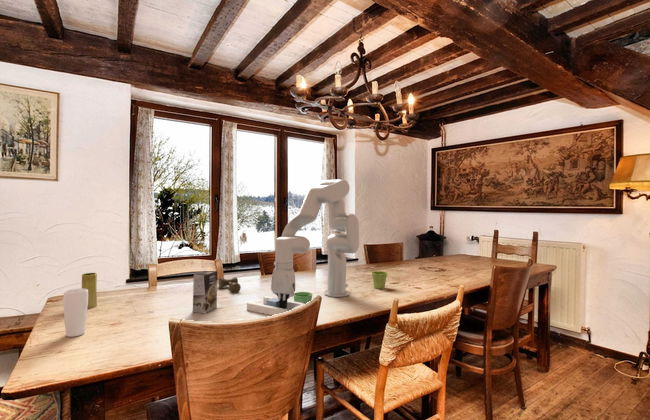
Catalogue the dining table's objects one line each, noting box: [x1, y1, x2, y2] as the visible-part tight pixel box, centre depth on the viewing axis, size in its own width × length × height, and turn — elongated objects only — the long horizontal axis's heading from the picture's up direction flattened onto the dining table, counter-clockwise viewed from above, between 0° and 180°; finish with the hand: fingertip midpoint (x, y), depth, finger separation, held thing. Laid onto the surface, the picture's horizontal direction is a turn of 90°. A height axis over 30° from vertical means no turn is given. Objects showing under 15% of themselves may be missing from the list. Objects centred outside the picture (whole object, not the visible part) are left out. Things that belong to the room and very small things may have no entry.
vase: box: [81, 272, 98, 309], centre depth 142 cm, size 6×6×14 cm
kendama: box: [218, 276, 242, 294], centre depth 178 cm, size 6×10×20 cm
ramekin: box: [293, 291, 313, 304], centre depth 153 cm, size 9×9×4 cm
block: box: [265, 297, 280, 308], centre depth 143 cm, size 5×5×4 cm
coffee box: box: [192, 270, 218, 314], centre depth 141 cm, size 9×6×16 cm
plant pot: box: [370, 270, 389, 290], centre depth 186 cm, size 9×9×9 cm
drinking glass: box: [62, 287, 88, 338], centre depth 112 cm, size 7×7×15 cm
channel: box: [246, 295, 305, 316], centre depth 142 cm, size 13×22×3 cm, turn 61°
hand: (283, 308), depth 140 cm, fingers closed
